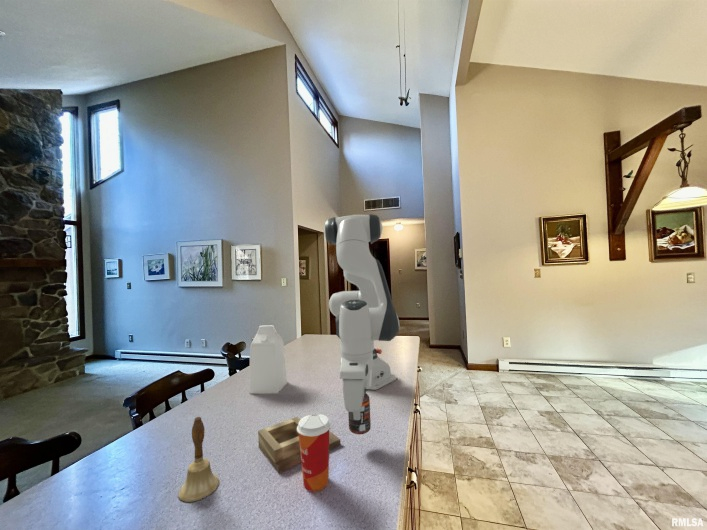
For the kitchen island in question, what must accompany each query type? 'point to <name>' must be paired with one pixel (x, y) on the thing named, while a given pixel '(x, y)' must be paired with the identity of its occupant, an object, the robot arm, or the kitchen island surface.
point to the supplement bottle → (364, 422)
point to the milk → (267, 362)
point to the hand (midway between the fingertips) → (359, 411)
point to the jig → (285, 444)
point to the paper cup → (314, 451)
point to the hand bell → (198, 470)
